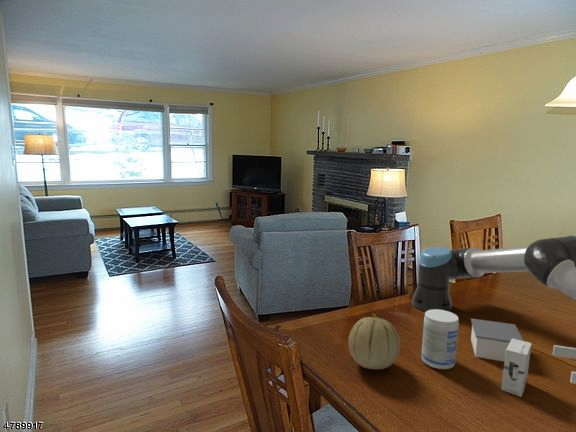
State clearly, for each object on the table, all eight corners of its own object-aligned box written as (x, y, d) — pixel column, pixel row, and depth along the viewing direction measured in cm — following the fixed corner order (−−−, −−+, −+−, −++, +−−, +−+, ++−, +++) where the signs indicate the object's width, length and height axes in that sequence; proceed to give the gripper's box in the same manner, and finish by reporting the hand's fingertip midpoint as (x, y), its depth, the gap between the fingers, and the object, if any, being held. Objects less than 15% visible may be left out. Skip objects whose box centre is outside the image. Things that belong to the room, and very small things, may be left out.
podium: (473, 357, 119) (475, 335, 118) (469, 338, 131) (471, 318, 130) (522, 365, 115) (524, 343, 114) (512, 344, 127) (515, 324, 126)
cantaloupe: (361, 384, 105) (363, 332, 102) (339, 356, 119) (340, 310, 116) (409, 376, 109) (413, 325, 106) (382, 350, 123) (385, 305, 120)
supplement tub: (452, 374, 110) (457, 325, 107) (417, 365, 115) (421, 317, 112) (456, 358, 118) (461, 312, 116) (424, 350, 123) (427, 306, 120)
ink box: (507, 375, 110) (511, 336, 108) (527, 382, 107) (532, 342, 105) (500, 390, 103) (505, 348, 101) (521, 397, 100) (527, 355, 98)
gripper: (697, 427, 82) (578, 405, 89) (636, 366, 105) (545, 353, 112) (703, 395, 81) (582, 375, 88) (641, 340, 104) (549, 328, 111)
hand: (561, 362), depth 100 cm, fingers open, 13 cm apart
